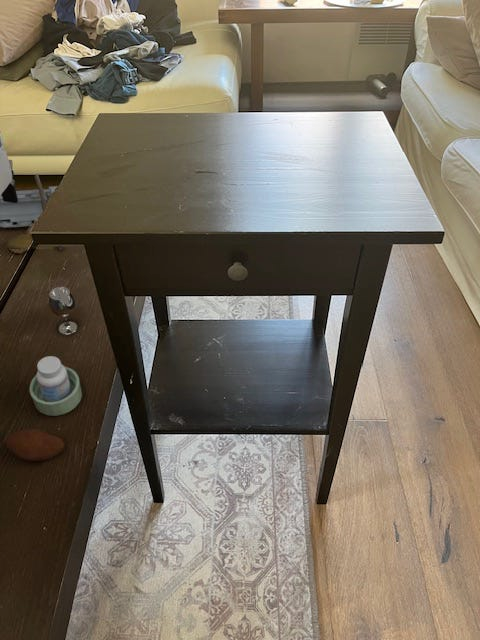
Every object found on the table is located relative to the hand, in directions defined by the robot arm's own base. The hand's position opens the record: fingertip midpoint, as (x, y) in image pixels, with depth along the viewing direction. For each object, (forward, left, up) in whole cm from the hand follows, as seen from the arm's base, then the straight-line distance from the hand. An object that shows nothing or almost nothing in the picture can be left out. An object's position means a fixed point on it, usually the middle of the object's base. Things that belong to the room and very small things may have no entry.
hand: (1, 213), depth 108 cm
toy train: (-11, +33, -22) cm, 41 cm away
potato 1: (-6, +22, -27) cm, 35 cm away
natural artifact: (-1, +32, -17) cm, 37 cm away
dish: (+15, -26, -29) cm, 42 cm away
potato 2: (+15, -40, -29) cm, 52 cm away
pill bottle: (+15, -26, -29) cm, 42 cm away
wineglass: (+11, -5, -29) cm, 32 cm away
